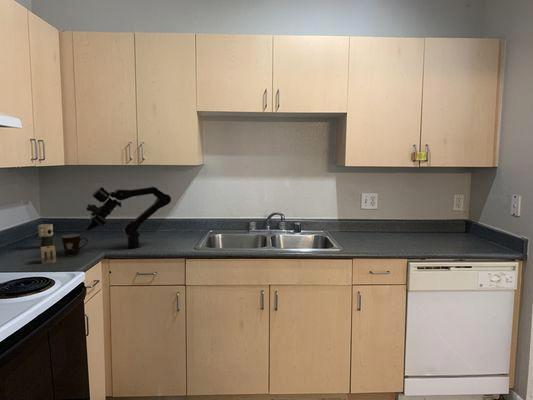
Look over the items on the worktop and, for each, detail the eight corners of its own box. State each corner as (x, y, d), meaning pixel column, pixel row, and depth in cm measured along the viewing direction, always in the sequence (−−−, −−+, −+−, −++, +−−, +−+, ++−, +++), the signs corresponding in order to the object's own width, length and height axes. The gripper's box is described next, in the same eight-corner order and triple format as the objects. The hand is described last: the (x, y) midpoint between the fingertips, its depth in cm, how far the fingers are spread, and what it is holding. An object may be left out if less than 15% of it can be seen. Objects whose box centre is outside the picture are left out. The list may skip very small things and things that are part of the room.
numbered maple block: (56, 262, 188) (55, 247, 187) (42, 263, 185) (41, 249, 184) (55, 259, 193) (54, 245, 192) (41, 260, 190) (40, 246, 189)
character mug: (48, 249, 213) (46, 226, 211) (35, 249, 212) (33, 226, 211) (58, 244, 224) (56, 223, 222) (45, 245, 223) (44, 223, 222)
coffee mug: (59, 255, 199) (57, 237, 198) (71, 251, 207) (70, 233, 206) (77, 257, 196) (76, 238, 195) (89, 253, 204) (88, 234, 203)
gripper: (93, 196, 212) (72, 218, 208) (97, 200, 196) (75, 223, 192) (109, 209, 217) (89, 230, 213) (114, 213, 201) (93, 237, 197)
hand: (86, 230), depth 204 cm, fingers closed
